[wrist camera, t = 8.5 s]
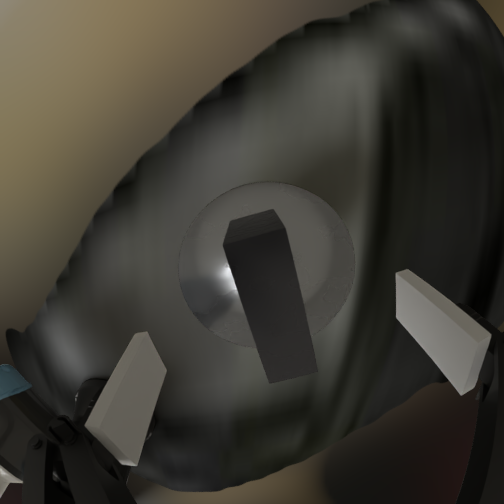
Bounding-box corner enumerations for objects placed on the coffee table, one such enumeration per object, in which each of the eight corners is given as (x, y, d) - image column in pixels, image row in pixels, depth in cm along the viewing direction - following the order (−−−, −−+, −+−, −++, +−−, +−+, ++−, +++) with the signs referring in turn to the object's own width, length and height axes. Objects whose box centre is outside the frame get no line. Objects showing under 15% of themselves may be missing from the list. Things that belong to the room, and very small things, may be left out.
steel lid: (214, 353, 23) (204, 414, 16) (158, 211, 19) (116, 234, 13) (358, 316, 22) (392, 367, 15) (331, 162, 19) (374, 162, 12)
